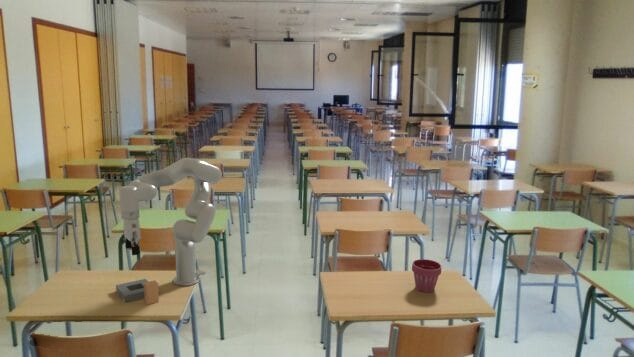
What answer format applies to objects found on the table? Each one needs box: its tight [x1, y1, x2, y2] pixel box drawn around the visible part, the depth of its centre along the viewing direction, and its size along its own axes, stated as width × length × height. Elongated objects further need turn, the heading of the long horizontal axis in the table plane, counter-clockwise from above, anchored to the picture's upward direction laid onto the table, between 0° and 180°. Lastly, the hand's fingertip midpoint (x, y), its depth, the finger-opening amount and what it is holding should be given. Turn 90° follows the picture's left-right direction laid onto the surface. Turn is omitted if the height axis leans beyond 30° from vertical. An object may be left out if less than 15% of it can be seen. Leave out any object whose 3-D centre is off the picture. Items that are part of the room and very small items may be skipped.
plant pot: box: [411, 258, 442, 293], centre depth 253 cm, size 14×14×13 cm
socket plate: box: [115, 278, 149, 303], centre depth 240 cm, size 14×14×3 cm
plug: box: [144, 279, 160, 305], centre depth 231 cm, size 5×4×9 cm
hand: (132, 251), depth 226 cm, fingers open, 9 cm apart
